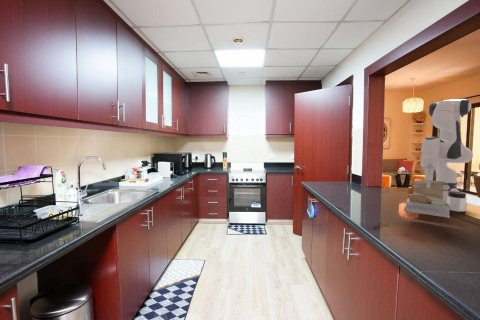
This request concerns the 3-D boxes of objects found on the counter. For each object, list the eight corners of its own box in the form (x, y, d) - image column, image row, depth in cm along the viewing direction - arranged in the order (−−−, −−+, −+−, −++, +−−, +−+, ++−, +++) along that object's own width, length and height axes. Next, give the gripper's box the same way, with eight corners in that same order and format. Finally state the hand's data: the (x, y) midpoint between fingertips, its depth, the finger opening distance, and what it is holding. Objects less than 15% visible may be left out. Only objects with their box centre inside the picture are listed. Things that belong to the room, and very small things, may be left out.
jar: (466, 212, 147) (468, 192, 146) (464, 214, 142) (465, 194, 141) (447, 209, 154) (448, 190, 153) (444, 211, 149) (445, 192, 148)
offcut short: (430, 211, 143) (431, 200, 142) (444, 213, 139) (445, 201, 138) (430, 212, 141) (431, 200, 140) (444, 214, 137) (445, 202, 137)
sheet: (412, 207, 151) (414, 179, 150) (441, 211, 143) (443, 181, 141) (412, 208, 150) (414, 179, 148) (441, 212, 141) (443, 182, 140)
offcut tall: (409, 208, 149) (410, 194, 148) (425, 210, 144) (426, 196, 143) (409, 209, 147) (409, 194, 147) (425, 211, 143) (426, 196, 142)
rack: (407, 207, 156) (407, 197, 156) (447, 213, 144) (448, 202, 144) (405, 213, 144) (405, 202, 143) (449, 220, 131) (450, 208, 131)
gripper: (437, 165, 134) (435, 190, 135) (436, 163, 150) (434, 185, 151) (422, 164, 138) (421, 188, 139) (423, 162, 154) (422, 183, 155)
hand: (428, 186), depth 145 cm, fingers open, 8 cm apart
